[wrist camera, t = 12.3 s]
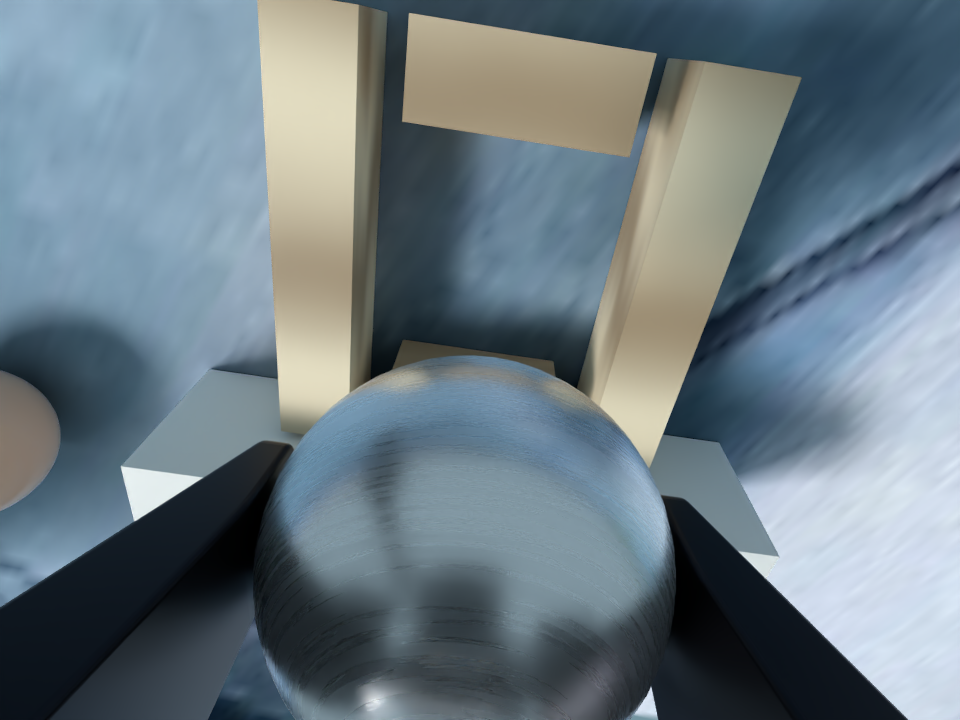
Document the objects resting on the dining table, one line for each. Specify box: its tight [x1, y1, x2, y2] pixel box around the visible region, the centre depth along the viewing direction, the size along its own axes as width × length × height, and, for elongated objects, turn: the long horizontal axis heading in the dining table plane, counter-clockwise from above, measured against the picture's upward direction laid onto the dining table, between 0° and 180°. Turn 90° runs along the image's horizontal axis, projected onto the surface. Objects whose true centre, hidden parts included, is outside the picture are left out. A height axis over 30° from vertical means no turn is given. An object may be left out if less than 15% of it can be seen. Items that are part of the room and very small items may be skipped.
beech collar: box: [257, 0, 802, 468], centre depth 15 cm, size 11×11×3 cm
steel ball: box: [253, 355, 676, 720], centre depth 7 cm, size 5×5×5 cm
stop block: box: [121, 369, 779, 578], centre depth 18 cm, size 2×18×5 cm, turn 82°
